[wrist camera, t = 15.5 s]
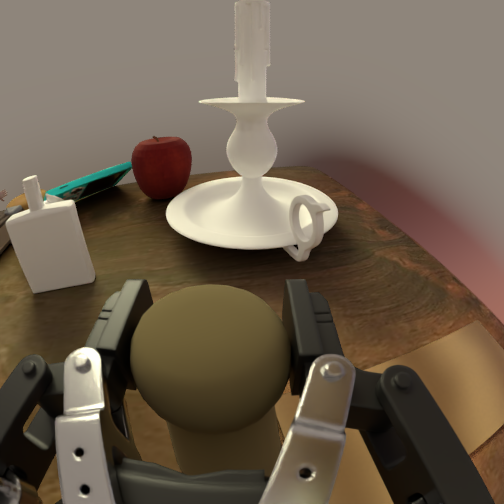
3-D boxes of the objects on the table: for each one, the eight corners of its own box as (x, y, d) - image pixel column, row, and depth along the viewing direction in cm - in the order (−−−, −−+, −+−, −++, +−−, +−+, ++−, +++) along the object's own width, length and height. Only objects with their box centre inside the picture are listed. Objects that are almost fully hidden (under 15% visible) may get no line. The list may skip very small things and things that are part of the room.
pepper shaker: (193, 508, 11) (111, 437, 5) (165, 421, 15) (103, 280, 10) (299, 473, 13) (355, 361, 7) (256, 395, 17) (260, 246, 12)
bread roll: (28, 228, 39) (62, 202, 47) (22, 208, 37) (57, 184, 45) (1, 226, 40) (33, 202, 48) (-5, 209, 38) (28, 186, 46)
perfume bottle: (96, 272, 29) (68, 164, 22) (94, 282, 27) (63, 170, 21) (36, 283, 27) (1, 184, 20) (32, 294, 25) (-7, 191, 19)
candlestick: (202, 329, 23) (179, -71, 8) (159, 209, 42) (146, 18, 27) (392, 268, 29) (426, -1, 14) (285, 188, 49) (289, 21, 34)
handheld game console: (45, 191, 35) (48, 199, 35) (132, 160, 46) (134, 167, 46) (41, 209, 42) (44, 215, 42) (114, 179, 53) (116, 186, 53)
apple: (194, 183, 51) (191, 127, 45) (193, 204, 43) (188, 137, 37) (142, 188, 50) (135, 134, 44) (131, 210, 42) (121, 146, 36)
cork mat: (320, 536, 9) (322, 536, 9) (269, 398, 17) (270, 396, 17) (533, 392, 14) (535, 390, 13) (476, 321, 22) (477, 319, 22)
